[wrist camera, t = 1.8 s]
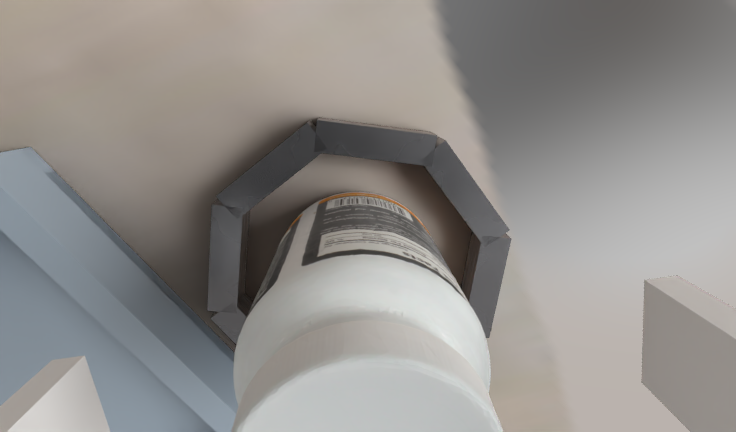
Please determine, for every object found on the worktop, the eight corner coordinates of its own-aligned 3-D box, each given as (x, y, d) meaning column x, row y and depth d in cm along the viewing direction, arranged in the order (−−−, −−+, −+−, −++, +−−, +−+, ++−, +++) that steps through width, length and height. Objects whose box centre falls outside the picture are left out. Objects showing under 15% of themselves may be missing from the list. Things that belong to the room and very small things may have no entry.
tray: (-245, 391, 17) (-342, 441, 15) (30, 147, 15) (-30, 158, 13) (44, 598, 21) (3, 666, 18) (301, 420, 19) (294, 470, 16)
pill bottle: (353, 358, 18) (357, 667, 8) (246, 257, 17) (106, 488, 7) (465, 265, 17) (613, 493, 7) (361, 152, 16) (380, 252, 6)
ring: (160, 240, 16) (145, 252, 15) (383, 60, 15) (386, 58, 14) (336, 423, 19) (335, 445, 18) (542, 282, 17) (556, 295, 16)
